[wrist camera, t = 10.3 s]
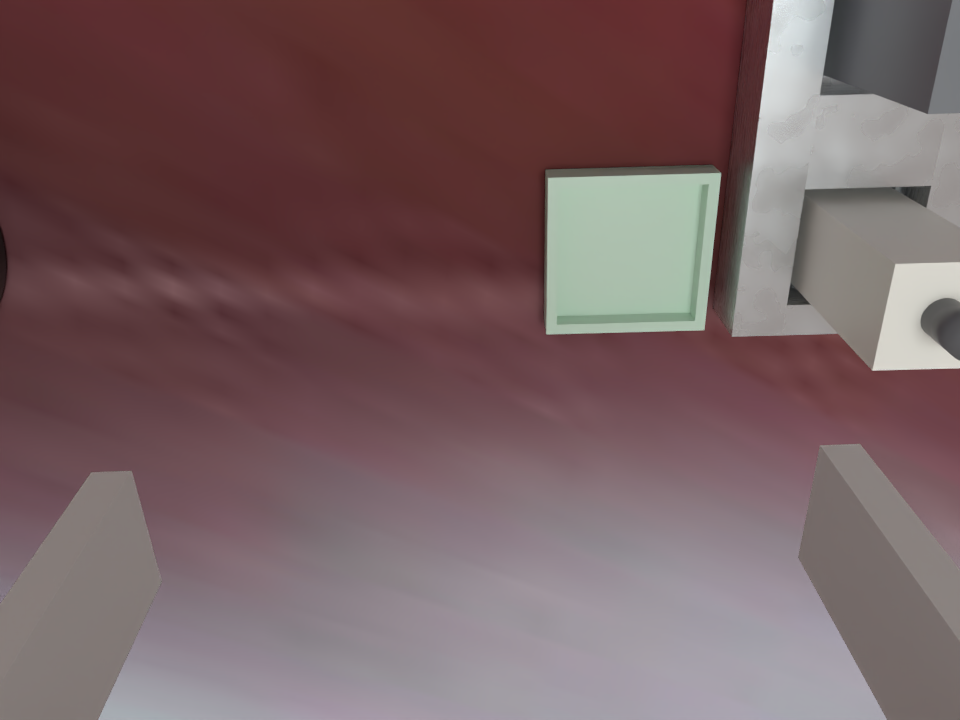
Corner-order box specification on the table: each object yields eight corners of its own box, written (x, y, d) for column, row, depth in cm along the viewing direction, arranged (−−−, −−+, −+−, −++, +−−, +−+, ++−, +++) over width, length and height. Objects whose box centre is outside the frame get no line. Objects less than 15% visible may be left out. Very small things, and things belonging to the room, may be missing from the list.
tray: (544, 321, 49) (546, 334, 47) (545, 169, 45) (548, 177, 43) (696, 317, 49) (704, 330, 47) (712, 164, 45) (721, 172, 43)
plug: (794, 187, 44) (923, 285, 32) (886, 184, 44) (1053, 282, 32) (781, 272, 47) (897, 397, 34) (868, 270, 47) (1017, 394, 34)
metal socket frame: (712, 308, 49) (731, 336, 45) (757, -94, 39) (785, -97, 36) (914, 302, 49) (948, 330, 45) (1008, -102, 39) (1061, -106, 36)
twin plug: (812, 70, 42) (960, 126, 29) (828, -38, 40) (998, -29, 27) (909, 67, 42) (1102, 122, 29) (931, -41, 40) (1150, -34, 27)
